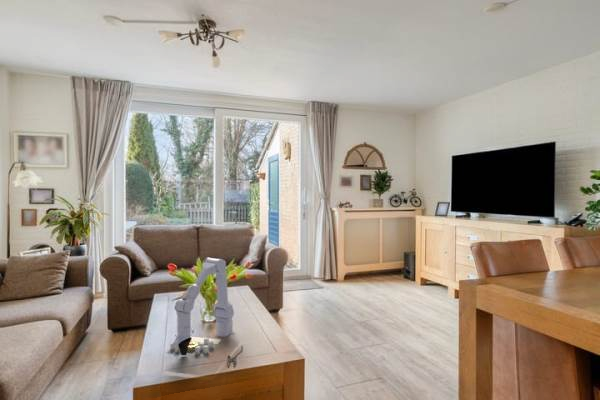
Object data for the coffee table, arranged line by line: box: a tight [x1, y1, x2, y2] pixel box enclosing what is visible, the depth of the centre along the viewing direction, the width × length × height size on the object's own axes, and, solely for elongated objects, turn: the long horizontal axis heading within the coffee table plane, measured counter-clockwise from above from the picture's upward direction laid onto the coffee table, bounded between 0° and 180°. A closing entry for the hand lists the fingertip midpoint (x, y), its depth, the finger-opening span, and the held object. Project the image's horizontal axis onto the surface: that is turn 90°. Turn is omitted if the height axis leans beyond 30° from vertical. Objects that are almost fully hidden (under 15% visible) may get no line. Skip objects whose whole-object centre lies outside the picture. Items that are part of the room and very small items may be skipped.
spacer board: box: [166, 336, 222, 358], centre depth 159 cm, size 18×20×4 cm
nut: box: [188, 342, 198, 351], centre depth 156 cm, size 6×5×2 cm
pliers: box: [226, 345, 244, 368], centre depth 153 cm, size 10×1×20 cm
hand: (183, 354), depth 149 cm, fingers closed
